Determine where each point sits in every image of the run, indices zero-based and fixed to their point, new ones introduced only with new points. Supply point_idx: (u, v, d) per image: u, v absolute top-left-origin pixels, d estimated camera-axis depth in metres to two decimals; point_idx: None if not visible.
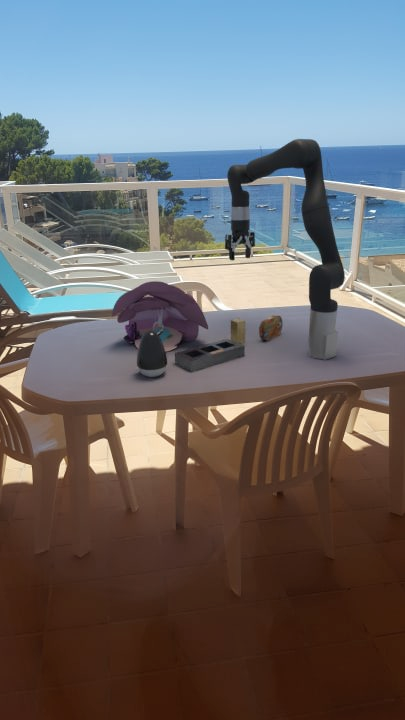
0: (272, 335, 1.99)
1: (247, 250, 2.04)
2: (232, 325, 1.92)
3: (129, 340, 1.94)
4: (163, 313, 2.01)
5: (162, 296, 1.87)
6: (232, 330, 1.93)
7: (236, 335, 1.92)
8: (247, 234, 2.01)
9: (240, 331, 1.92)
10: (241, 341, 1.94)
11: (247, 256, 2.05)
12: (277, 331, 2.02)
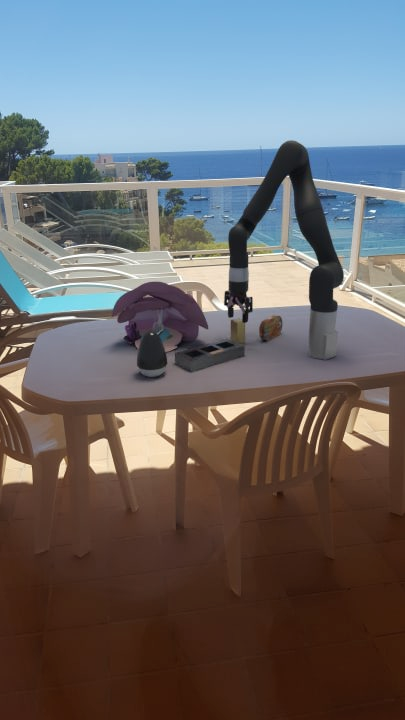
0: (272, 335, 1.99)
1: (231, 309, 1.94)
2: (232, 325, 1.92)
3: (129, 340, 1.94)
4: (163, 313, 2.01)
5: (162, 296, 1.87)
6: (232, 330, 1.93)
7: (236, 335, 1.92)
8: None
9: (240, 331, 1.92)
10: (241, 341, 1.94)
11: (231, 315, 1.95)
12: (277, 331, 2.02)
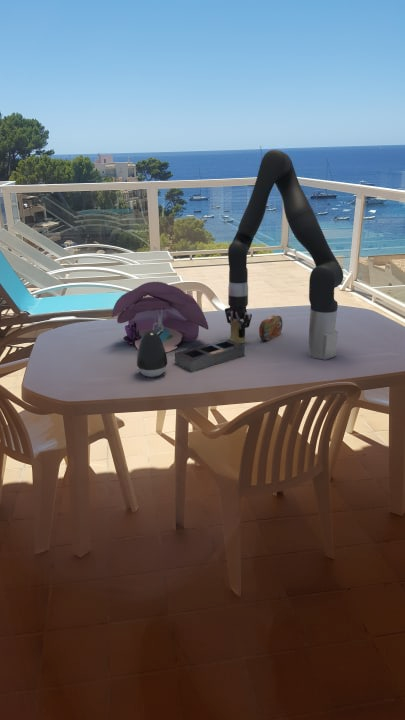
0: (272, 335, 1.99)
1: None
2: (232, 325, 1.92)
3: (129, 341, 1.94)
4: (163, 313, 2.00)
5: (162, 296, 1.86)
6: (232, 330, 1.93)
7: (236, 335, 1.92)
8: None
9: None
10: (241, 341, 1.94)
11: None
12: (277, 331, 2.02)
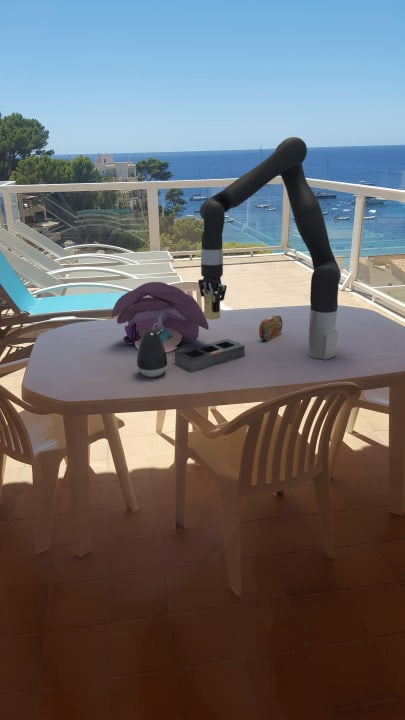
0: (272, 335, 1.99)
1: None
2: (205, 298, 1.72)
3: (129, 341, 1.93)
4: (162, 314, 2.00)
5: (162, 297, 1.86)
6: (206, 304, 1.73)
7: (210, 309, 1.72)
8: None
9: None
10: (216, 316, 1.74)
11: None
12: (277, 331, 2.02)
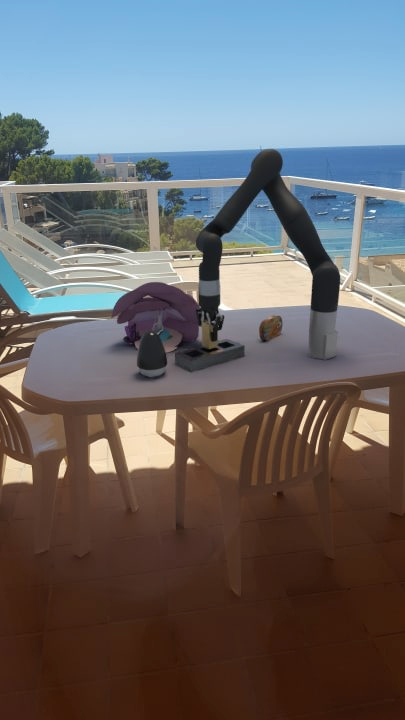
0: (272, 335, 1.99)
1: None
2: (203, 327, 1.73)
3: (129, 341, 1.93)
4: (162, 314, 2.00)
5: (162, 297, 1.86)
6: (203, 333, 1.74)
7: (208, 339, 1.73)
8: None
9: None
10: (213, 345, 1.75)
11: None
12: (277, 331, 2.02)
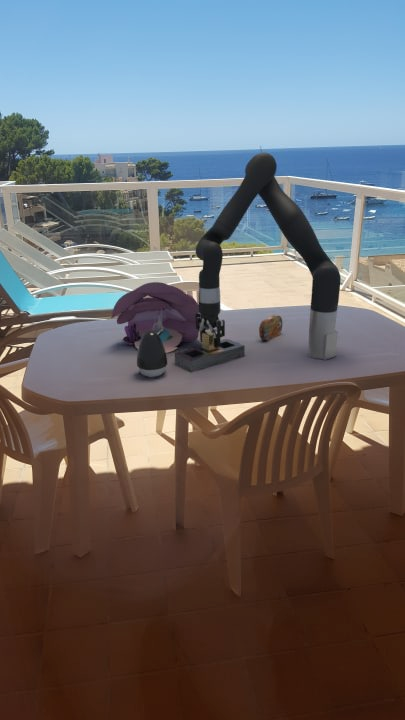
0: (272, 335, 1.99)
1: None
2: (203, 338, 1.75)
3: (129, 341, 1.93)
4: (162, 314, 2.00)
5: (162, 297, 1.86)
6: (204, 344, 1.76)
7: (208, 349, 1.74)
8: None
9: (212, 345, 1.74)
10: None
11: None
12: (277, 331, 2.02)
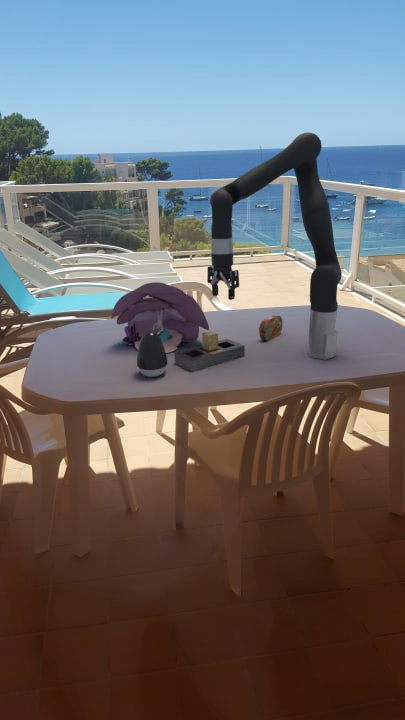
0: (272, 335, 1.99)
1: (216, 287, 1.77)
2: (203, 338, 1.75)
3: (129, 342, 1.93)
4: (162, 314, 1.99)
5: (162, 297, 1.85)
6: (204, 344, 1.76)
7: (208, 349, 1.74)
8: None
9: (212, 345, 1.74)
10: None
11: (216, 294, 1.78)
12: (277, 331, 2.02)
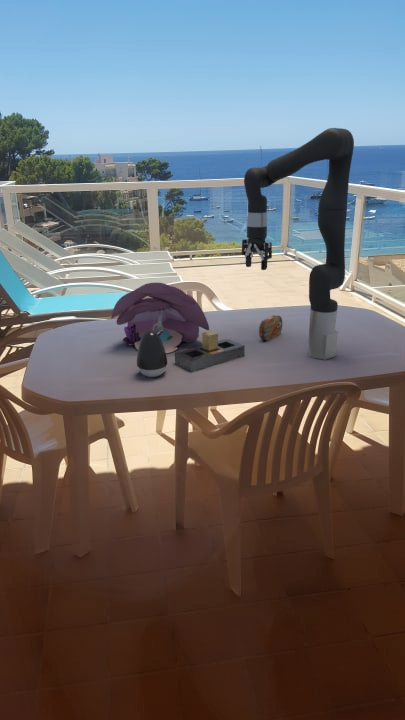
0: (272, 335, 1.99)
1: (249, 258, 1.92)
2: (203, 338, 1.75)
3: (128, 342, 1.92)
4: (162, 314, 1.99)
5: (162, 297, 1.85)
6: (204, 344, 1.76)
7: (208, 349, 1.74)
8: None
9: (212, 345, 1.74)
10: None
11: (249, 265, 1.93)
12: (277, 331, 2.02)
